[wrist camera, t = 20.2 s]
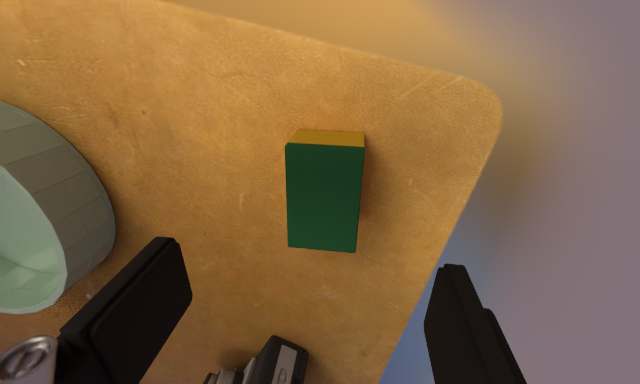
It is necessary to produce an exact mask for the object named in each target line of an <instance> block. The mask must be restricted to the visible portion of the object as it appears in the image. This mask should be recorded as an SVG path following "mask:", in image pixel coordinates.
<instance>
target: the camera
mask: <svg viewBox="0 0 640 384" xmlns="http://www.w3.org/2000/svg"><path fill="white" fill-rule="evenodd" d="M307 359H308V353H306V350H305V349H303V348H301V347H299V346H297V345H294V344H292V343H290V342H288V341H286V340H283V339H281V338H279V337H277V336H272V337H271V338H270V339H269V340H268V342H267V343H266V345H265V346H264V348H263V349H262V350H261V352H260V353H259V355H258V356H257V358H255V357H253V358H252V359H251V361H250V362H249V364H248V365H247V367H246V368H245V370H244V371H243V372H242V373H239V372H236V370H237V369H234V370H233V371H232V370H228V369H224V368H222V369H221V370H220V371H219V373H218V374H217V375H216V374H214V373H209V374H208V375H207V377H206V379H205V381H204V383H203V384H303V382H304V377H305V371H306V365H307Z"/></svg>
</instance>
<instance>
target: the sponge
mask: <svg viewBox="0 0 640 384" xmlns="http://www.w3.org/2000/svg"><path fill="white" fill-rule="evenodd" d="M364 155H365V146H364V133H362V132H343V131H324V130H304V129H298V130H297V131H296V133H295V134H294V135H293V137H292V138H291V139H290V141H289V142H288V143H287V144H286V146H285V166H286V198H287V229H288V247H295V248H306V249H317V250H328V251H338V252H349V253H355V252H356V241H357V231H358V220H359V209H360V198H361V187H362V176H363V166H364Z"/></svg>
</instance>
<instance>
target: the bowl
mask: <svg viewBox="0 0 640 384" xmlns="http://www.w3.org/2000/svg"><path fill="white" fill-rule="evenodd" d="M115 235H116V224H115V216H114V212H113V209H112V205H111V202H110V200H109V197H108V195H107V192H106V190H105V189H104V187H103V185H102V183H101V181H100V179H99V178H98V176H97V175H96V173H95V172H94V170H93V169H92V167H91V166H90V165H89V164H88V162H87V161H86V160H85V159H84V157H83V156H82V155H81V154H80V153H79V152H78V151H77V150H76V149H75V148H74V147H73V146H72V145H71V144H70V143H69V142H68V141H67V140H66V139H65V138H64V137H62V136H61V135H60V134H59V133H58V132H57V131H55V130H54V129H53V128H51V127H50V126H49V125H47V124H46V123H44V122H43V121H41V120H40V119H38V118H36V117H35V116H33V115H32V114H30V113H28V112H26V111H24V110H22V109H20V108H18V107H16V106H13V105H11V104H8V103H5V102H3V101H0V312H3V313H11V314H24V313H33V312H38V311H40V310H43V309H45V308H47V307H49V306H51V305H53V304H55V303H56V302H57V301H58V300H59V299H61V298H62V297H63V296H64V295H65V294H66V293H68V292H69V291H70V290H71V289H72V288H74V287H75V286H76V285H77V284H78V283H80V282H81V281H82V280H83V279H84V278H86V277H87V276H88V275H89V274H90V273H92V272H93V271H94V270H95V269H96V268H97V267H98V266H99V265H100V264H101V263H102V262H103V261H104V260H105V259H106V258H107V257H108V255H109V254H110V252H111V250H112V247H113V245H114V241H115Z"/></svg>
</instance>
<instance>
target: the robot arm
mask: <svg viewBox="0 0 640 384" xmlns="http://www.w3.org/2000/svg"><path fill="white" fill-rule="evenodd" d="M191 301H192V290H191V287H190V283H189V279H188V275H187V271H186V267H185V264H184V260H183V256H182V252H181V248H180V245H179V243H178V242H176V240H175V239H174V238H169V237H159V236H158V237H155V238H154V239H153V240H152V241H151V242H150V243H149V244H148V245H147V246H146V247H145V248H144V249H143V250H142V251H140V252H139V253H138V254H137V255H136V256H135V257H134V258H133V259H132V260H131V261H130V262H129V263H128V264H127V265H126V266H125V267H124V268H123V269H122V270H121V271H120V272H119V273H118V274H117V275H116V276H115V277H114V278H113V279H112V280H110V281H109V282H108V283H107V284H106V285H105V286H104V287H103V288H102V289H101V290H100V291H99V292H98V293H97V294H96V295H95V296H94V297H93V298H92V299H91V300H90V301H89V302H88V303H87V304H86V305H85V306H84V307H83V308H82V309H80V310H79V311H78V312H77V313H76V314H75V315H74V316H73V317H72V318H71V319H70V320H69V321H68V322H67V323H66V324H65V325H64V326H63V327H62V328H61V329H60V332H61V334H60V335H59V336H58V337H57V338H55V337H54V336H51V335H38V336H34V337H31V338H28V339H25V340H23V341H21V342H19V343H17V344H15V345H14V346H12V347H10V348H9V349H7V350H6V351H5V352H4V353H2V354H1V355H0V384H139V382H140V381H141V379H142V378H143V376H144V375H145V373H146V371H147V370H148V368H149V367H150V365H151V364H152V362H153V361H154V359H155V358H156V356H157V354H158V353H159V351H160V350H161V348H162V347H163V345H164V344H165V342H166V340H167V339H168V337H169V336H170V334H171V333H172V331H173V330H174V328H175V327H176V325H177V323H178V322H179V320H180V319H181V317H182V316H183V314H184V313H185V311H186V310H187V308H188V306H189V305H190V303H191ZM424 332H425V337H426V342H427V347H428V352H429V357H430V362H431V366H432V371H433V376H434V381H435V384H527V383H526V381H525V379H524V377H523V375H522V373H521V370H520V368H519V366H518V364H517V362H516V360H515V358H514V356H513V353H512V351H511V349H510V347H509V345H508V343H507V341H506V339H505V337H504V334H503V332H502V330H501V328H500V326H499V324H498V322H497V320H496V317H495V315H494V314H493V312H492V311H491V310H490V309H486V308H483V307H482V304H481V302H480V300H479V298H478V295H477V293H476V291H475V288H474V286H473V284H472V282H471V279H470V277H469V275H468V273H467V270H466V268H465V266H463V265H454V264H445V265H444V267H443V268H441V267H440V268H438V271H437V274H436V278H435V282H434V286H433V289H432V293H431V297H430V301H429V305H428V309H427V312H426V316H425V320H424Z"/></svg>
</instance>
